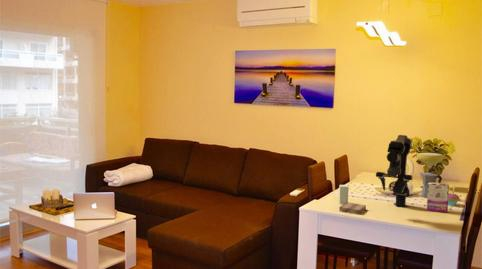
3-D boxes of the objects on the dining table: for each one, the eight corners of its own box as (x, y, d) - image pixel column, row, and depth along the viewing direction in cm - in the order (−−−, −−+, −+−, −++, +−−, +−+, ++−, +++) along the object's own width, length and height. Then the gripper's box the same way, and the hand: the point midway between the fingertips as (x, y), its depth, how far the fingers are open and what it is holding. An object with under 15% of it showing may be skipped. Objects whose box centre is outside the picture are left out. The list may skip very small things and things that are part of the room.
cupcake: (462, 206, 270) (463, 187, 269) (449, 206, 269) (450, 187, 267) (453, 202, 278) (454, 183, 277) (440, 203, 277) (441, 184, 276)
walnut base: (339, 211, 258) (339, 207, 257) (345, 206, 268) (345, 202, 268) (359, 214, 252) (360, 210, 251) (365, 209, 262) (365, 205, 261)
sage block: (339, 201, 278) (339, 184, 277) (347, 202, 278) (347, 185, 277) (339, 204, 274) (340, 186, 272) (347, 204, 273) (348, 186, 272)
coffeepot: (415, 195, 296) (416, 168, 294) (423, 193, 302) (425, 167, 300) (436, 200, 284) (437, 172, 282) (444, 198, 289) (446, 171, 287)
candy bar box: (447, 210, 261) (448, 183, 259) (447, 212, 256) (449, 184, 254) (426, 208, 265) (427, 181, 263) (426, 210, 260) (428, 183, 258)
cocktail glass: (447, 188, 317) (449, 154, 314) (432, 191, 306) (434, 156, 304) (424, 184, 331) (426, 150, 329) (409, 187, 321) (411, 152, 319)
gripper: (374, 161, 244) (372, 189, 243) (410, 164, 235) (408, 193, 234) (379, 162, 254) (376, 189, 253) (413, 165, 245) (411, 193, 244)
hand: (392, 191), depth 246 cm, fingers open, 9 cm apart
